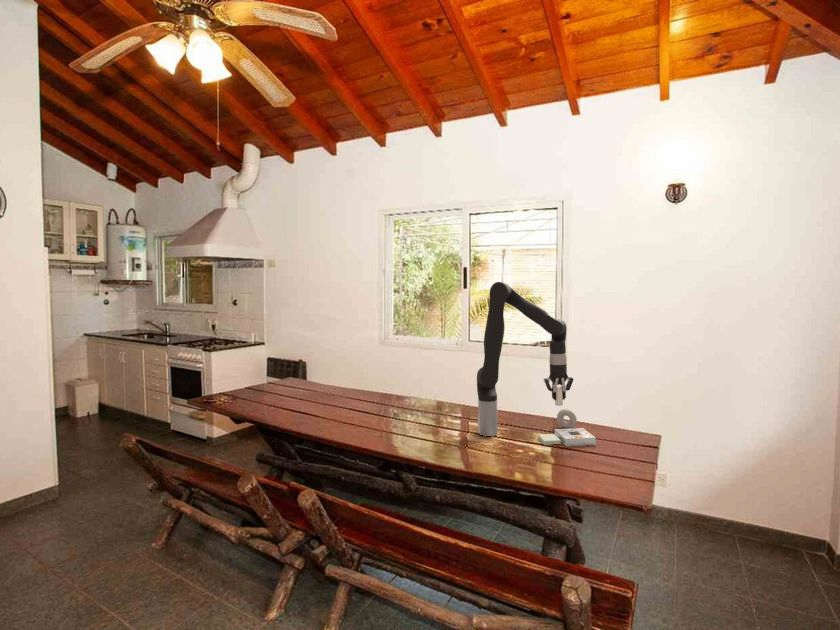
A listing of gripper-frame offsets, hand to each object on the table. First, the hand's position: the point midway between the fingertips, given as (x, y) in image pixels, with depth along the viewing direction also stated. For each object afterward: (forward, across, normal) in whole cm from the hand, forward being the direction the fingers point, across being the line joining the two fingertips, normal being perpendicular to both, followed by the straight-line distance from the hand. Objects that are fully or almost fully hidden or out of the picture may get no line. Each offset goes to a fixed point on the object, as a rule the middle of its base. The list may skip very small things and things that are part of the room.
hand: (559, 399), depth 210 cm
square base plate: (+20, -5, 0) cm, 20 cm away
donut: (+20, +10, +18) cm, 29 cm away
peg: (+2, 0, 0) cm, 2 cm away
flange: (+20, +7, 0) cm, 21 cm away
